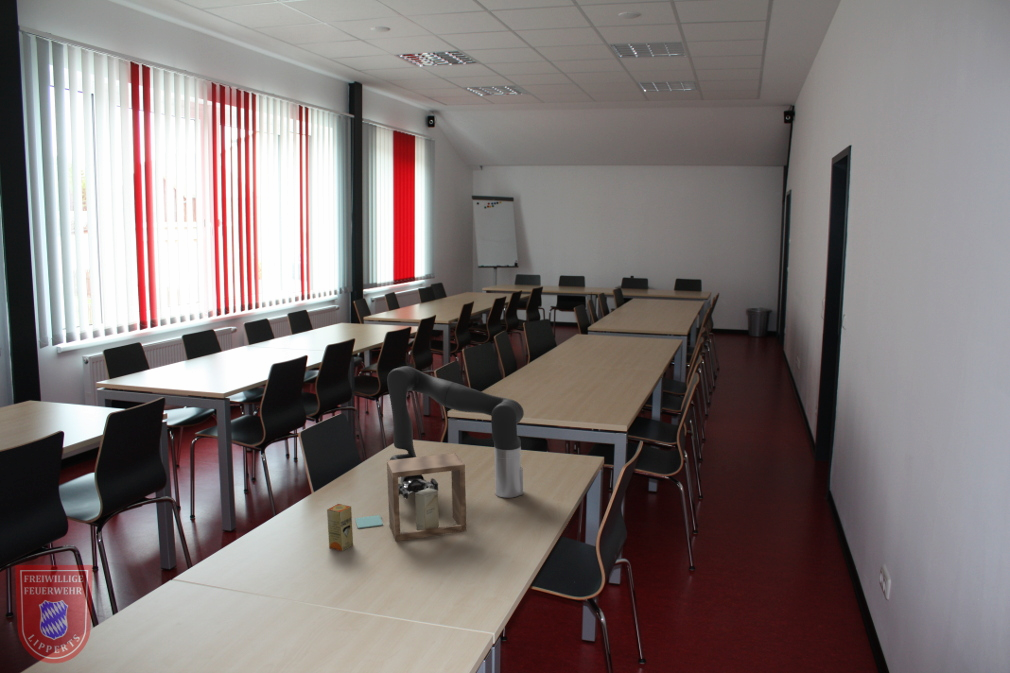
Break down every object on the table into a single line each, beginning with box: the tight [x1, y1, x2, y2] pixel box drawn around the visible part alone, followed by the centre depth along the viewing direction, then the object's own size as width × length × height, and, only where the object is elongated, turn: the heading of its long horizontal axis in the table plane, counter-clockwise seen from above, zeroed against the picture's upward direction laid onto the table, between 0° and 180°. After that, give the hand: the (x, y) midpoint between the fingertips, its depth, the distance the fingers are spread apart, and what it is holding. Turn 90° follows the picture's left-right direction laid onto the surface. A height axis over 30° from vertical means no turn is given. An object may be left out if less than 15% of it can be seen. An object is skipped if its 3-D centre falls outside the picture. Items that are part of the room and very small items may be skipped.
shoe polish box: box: [326, 503, 354, 552], centre depth 215 cm, size 5×5×12 cm
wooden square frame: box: [386, 452, 467, 542], centre depth 226 cm, size 22×12×22 cm, turn 107°
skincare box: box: [414, 488, 440, 531], centre depth 227 cm, size 6×4×12 cm
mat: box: [354, 514, 384, 530], centre depth 233 cm, size 8×8×1 cm
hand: (420, 494), depth 237 cm, fingers open, 8 cm apart
